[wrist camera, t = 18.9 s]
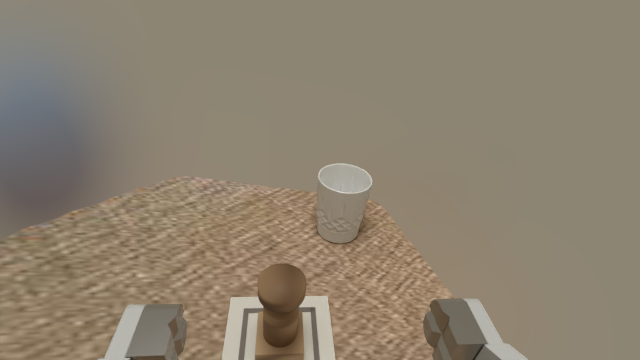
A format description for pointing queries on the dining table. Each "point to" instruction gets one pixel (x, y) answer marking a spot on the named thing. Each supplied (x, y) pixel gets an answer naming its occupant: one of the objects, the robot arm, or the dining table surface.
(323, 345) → the print card
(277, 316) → the stamp
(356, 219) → the white cup
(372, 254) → the dining table surface
